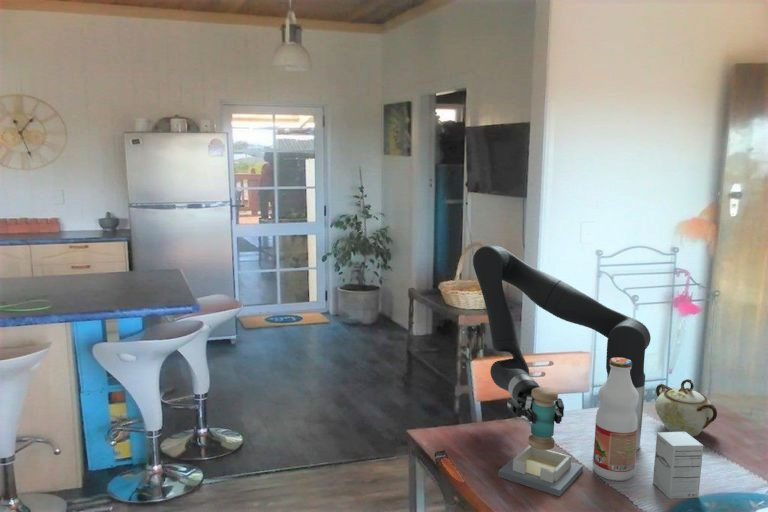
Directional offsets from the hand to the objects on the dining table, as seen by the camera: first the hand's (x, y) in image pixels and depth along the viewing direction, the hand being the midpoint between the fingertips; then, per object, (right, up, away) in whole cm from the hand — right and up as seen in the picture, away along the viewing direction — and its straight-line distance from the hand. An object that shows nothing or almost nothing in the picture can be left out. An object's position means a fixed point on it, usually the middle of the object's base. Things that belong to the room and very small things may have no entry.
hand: (546, 419), depth 150 cm
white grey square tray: (0, -14, +5) cm, 15 cm away
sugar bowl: (+46, -11, +31) cm, 56 cm away
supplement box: (+29, -16, -2) cm, 33 cm away
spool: (0, -7, +4) cm, 8 cm away
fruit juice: (+17, -14, +6) cm, 23 cm away
